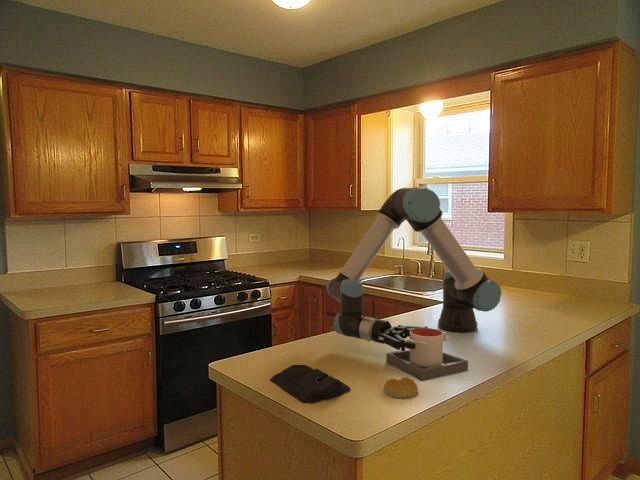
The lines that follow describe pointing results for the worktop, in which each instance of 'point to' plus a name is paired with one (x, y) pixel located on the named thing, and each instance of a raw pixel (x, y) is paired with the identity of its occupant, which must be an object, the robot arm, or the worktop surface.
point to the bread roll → (401, 388)
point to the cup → (433, 347)
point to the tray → (447, 367)
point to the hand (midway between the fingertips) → (436, 342)
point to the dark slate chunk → (309, 384)
